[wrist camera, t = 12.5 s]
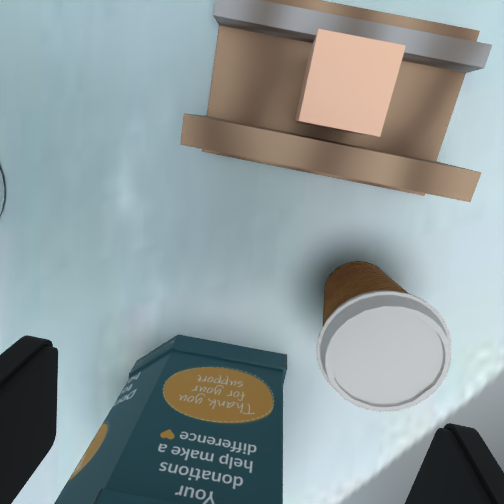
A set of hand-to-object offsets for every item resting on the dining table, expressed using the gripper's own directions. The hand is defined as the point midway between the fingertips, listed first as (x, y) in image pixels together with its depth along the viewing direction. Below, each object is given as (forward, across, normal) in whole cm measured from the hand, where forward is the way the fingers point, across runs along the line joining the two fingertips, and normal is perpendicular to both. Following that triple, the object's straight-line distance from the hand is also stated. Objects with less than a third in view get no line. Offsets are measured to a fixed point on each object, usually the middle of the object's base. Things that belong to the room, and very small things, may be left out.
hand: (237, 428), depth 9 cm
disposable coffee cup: (+28, -10, +7) cm, 31 cm away
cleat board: (+28, -3, -10) cm, 30 cm away
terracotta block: (+27, -3, -10) cm, 29 cm away
